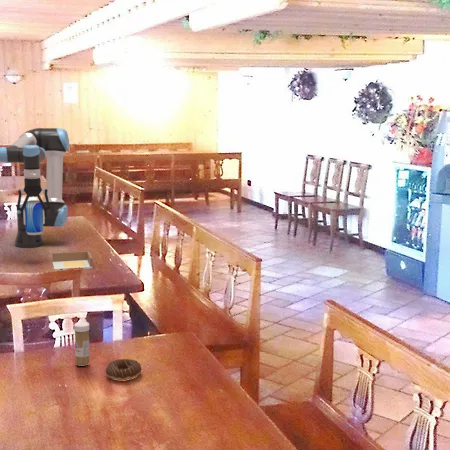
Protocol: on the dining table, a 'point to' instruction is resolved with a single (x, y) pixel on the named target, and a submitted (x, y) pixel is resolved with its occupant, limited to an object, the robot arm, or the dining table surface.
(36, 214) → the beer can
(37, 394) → the dining table surface
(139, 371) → the donut
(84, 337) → the sprinkles bottle
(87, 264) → the tray
